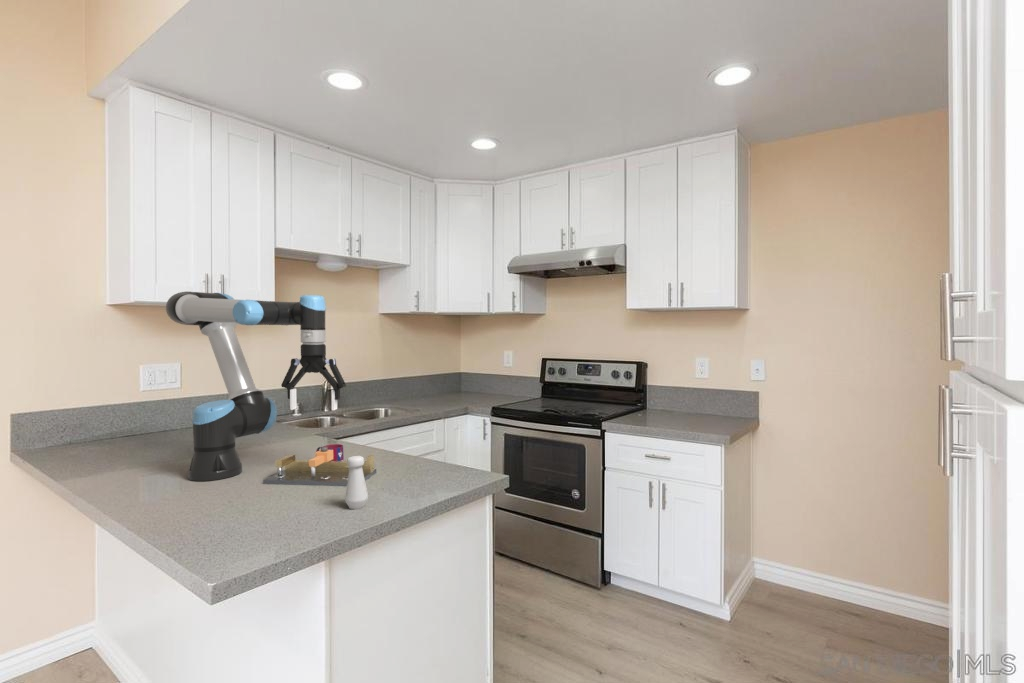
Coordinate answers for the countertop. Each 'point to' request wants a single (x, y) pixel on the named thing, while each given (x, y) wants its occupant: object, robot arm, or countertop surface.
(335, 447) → the mug
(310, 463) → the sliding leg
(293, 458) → the brass l-shaped beam
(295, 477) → the plate
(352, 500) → the salt shaker
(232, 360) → the robot arm
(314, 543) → the countertop surface
